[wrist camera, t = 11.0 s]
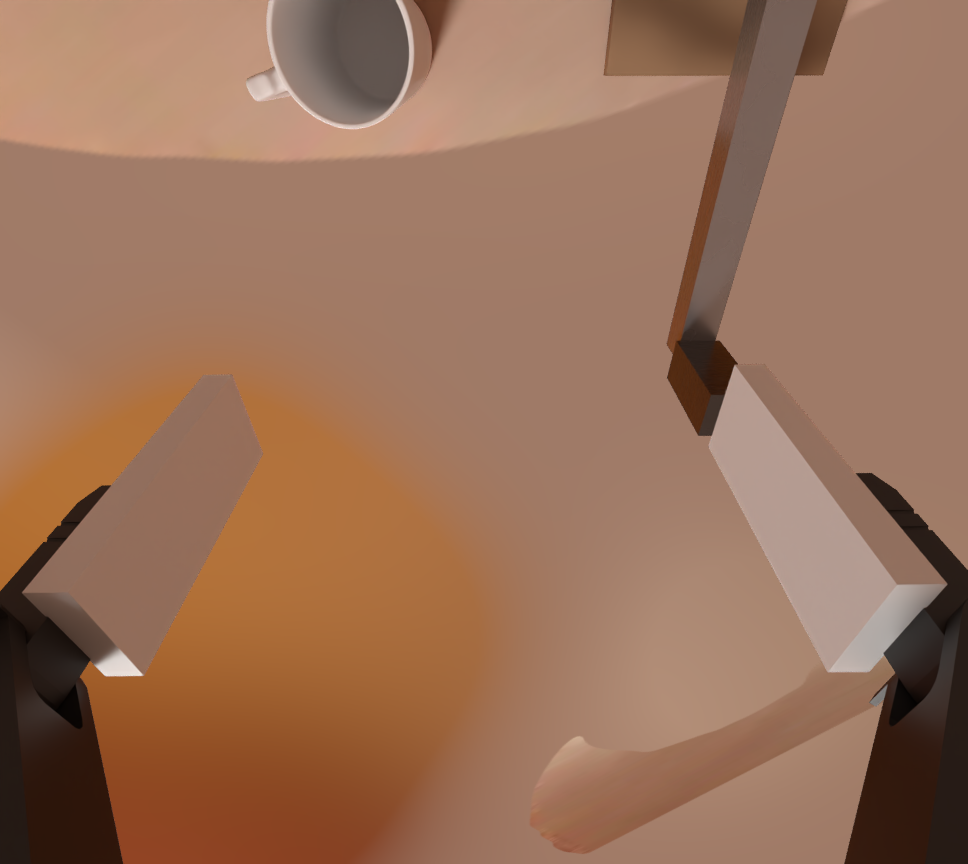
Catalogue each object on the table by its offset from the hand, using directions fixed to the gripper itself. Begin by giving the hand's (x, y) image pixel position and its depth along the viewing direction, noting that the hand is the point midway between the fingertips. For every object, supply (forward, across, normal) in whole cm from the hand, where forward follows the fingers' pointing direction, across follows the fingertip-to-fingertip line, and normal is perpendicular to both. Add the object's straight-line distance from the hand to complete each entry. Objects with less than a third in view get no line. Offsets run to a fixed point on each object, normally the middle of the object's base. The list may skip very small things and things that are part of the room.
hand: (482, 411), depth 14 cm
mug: (+30, -8, +7) cm, 32 cm away
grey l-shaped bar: (+23, +15, +1) cm, 27 cm away
